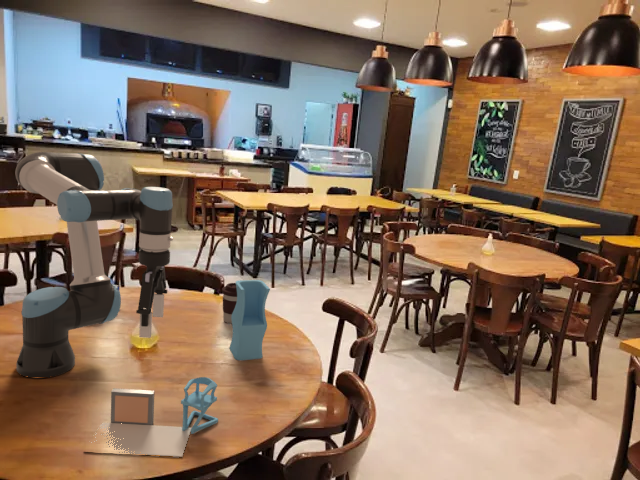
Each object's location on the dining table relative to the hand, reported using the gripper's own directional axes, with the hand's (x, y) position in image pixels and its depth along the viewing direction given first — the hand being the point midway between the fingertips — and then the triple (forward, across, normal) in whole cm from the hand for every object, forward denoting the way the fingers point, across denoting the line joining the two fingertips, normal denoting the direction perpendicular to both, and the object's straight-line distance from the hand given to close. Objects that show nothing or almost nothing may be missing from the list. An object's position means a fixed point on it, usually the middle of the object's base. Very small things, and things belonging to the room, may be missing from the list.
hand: (151, 326), depth 124 cm
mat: (+22, -17, -2) cm, 28 cm away
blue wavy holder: (+22, +33, -25) cm, 47 cm away
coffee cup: (+22, +61, -18) cm, 67 cm away
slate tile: (+22, -10, +2) cm, 24 cm away
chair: (+22, -10, -14) cm, 28 cm away
